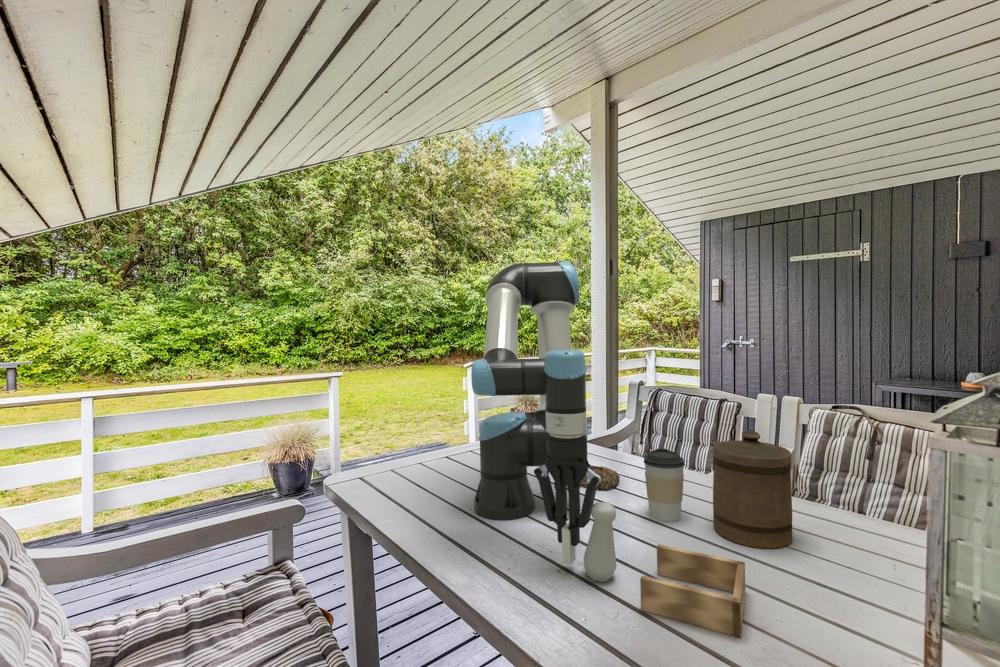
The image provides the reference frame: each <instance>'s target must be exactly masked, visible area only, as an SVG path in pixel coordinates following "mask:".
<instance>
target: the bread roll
mask: <svg viewBox="0 0 1000 667" xmlns="http://www.w3.org/2000/svg"><path fill="white" fill-rule="evenodd" d="M590 469H591V470H592V471H593V472H595V473H596V474H601V475H602V480H601V481H600V483H599V484H598V486H597V489H596V492H606V491H610V490H612V489H614V488H616V487H617V486H618V485H619V482H620V479H621V478H620V474H618V472H617V470H613V469H611V468H609V467H606V466H597V465H590ZM587 485H588V483H587V475H586V476H585V477H584V478H583V480H582V481H581V482H580V488H584V489H586V488H587Z"/></svg>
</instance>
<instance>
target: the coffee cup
mask: <svg viewBox="0 0 1000 667" xmlns="http://www.w3.org/2000/svg"><path fill="white" fill-rule="evenodd" d="M643 464H644V468H645V471H644V475H645V476H644V477H645V485H646V488H645V489H646V498H647V501H648V502H647V503H648V511H649V513H648V514H649V516H650V517H651V518H652V519H654V520H656V521H661V522H666V523H667V522H668V523H669V522H670V523H671V522H672V523H673V522H677V521H679V520H680V519H681V517H682V516H681V514H682V501H683V494H684V477H685V476H684V466H685V460H684V458H683V457H681V456H680V454H679V453H678V452H675V451H671V450H669V449H667V448H656V449H654V450H651V451H649V452H648V454H647V455H645V456H644V457H643Z"/></svg>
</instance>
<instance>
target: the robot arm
mask: <svg viewBox="0 0 1000 667" xmlns="http://www.w3.org/2000/svg"><path fill="white" fill-rule="evenodd" d="M485 290H486V291H485V296H484V298H485V299H484V301H485V305H486V306H487V318H486V328H485V337H484V347H483V348H484V349H483V358H481V359H475V360H473V362H472V364H471V378H470V379H471V389H472V391H473V393H474V394H475V395H477V396H488V397H503V396H507V397H508V396H539V405H538V407H536V409H535V410H534V411H533V413H534V414H533V416H534V417H533V418H527V414H526V413H525V412H521V411H517V412H516V411H509V412H502V413H498V414H493V415H490V416H488V417H485V418H483V420H482V421H481V422H480V425H479V437H478V441H479V451H480V453H479V454H480V455H479V458H480V461H479V462H480V463H479V464H480V477H479V478H480V479H479V482H478V485H477V489H476V492H475V496H474V500H473V505H474V507H473V508H474V511H475V513H476V514H478V515H479V516H481V517H484V518H488V519H493V520H514V519H520V518H523V517H527V516H529V515H530V514H532V513H533V512H534V511H535V510H536V509H535V507H536V505H535V504H536V501H535V500H536V499H535V496H534V493H533V490H532V487H531V483H530V481H529V478H528V468H529V467H534V469H533V474H534V476H535V478H536V479H537V481H538V484H539V488H540V491H541V497H542V501H543V506H544V509H545V515H546V517H547V518H546V519H547V520H548V521H549V522H553V523H555V524H556V526H557V528H556V530H557V542H558V543H560V544H561V549H562V550H561V554H562V555H561V556H562V558H561V559H562V564H563V565H568V566H571V565H572V564H573V563H574V561H575V560H576V557H577V556H576V547H577V546H578V545H579V543H580V541H581V540H580V539H581V534H580V533H581V532H580V530H581V529H584V528H585V527H586V526H588V524H589V522H590V521H591V517H592V515H591V508H592V506H593V505H594V504H595V503H594V502H595V499H596V498H595V497H596V494H597V490H596V489H597V486H598V484H599V483H600V481H601V480H602V475H601V474H596V473H595V472H593V471H592V470H591V469H590V466H591V465H590V463H589V460H588V434H589V432H588V430H589V429H588V427H589V426H588V418H587V403H586V402H587V401H586V400H587V397H586V392H587V391H586V390H587V389H586V388H587V387H586V386H587V385H586V379H587V378H586V377H587V376H586V374H587V373H586V372H587V366H586V357H585V353H584V352H583V351H581V350H578V349H577V350H575V349H572V344H571V342H572V341H571V324H570V322H571V321H570V315H571V314H572V313H573V312H574V311H575V306H576V305H577V304H579V303H580V298H581V294H580V283H579V278H578V273H577V270H576V267H575V266H574V264H572V263H571V262H568V261H566V262H565V261H552V262H551V261H550V262H547V261H546V262H518V263H513V264H511V265H508V266H506V267H504V268H503V269H501V270H500V271H499V272H498V273H496V274H495V275H494V276H493V277H492V279H491V281H490V282H489V284H488V285H487V287H486V289H485ZM521 306H530V307H531V308H530V309H531V313H532V314H533V315H535V317H536V319H537V345H538V347H537V349H538V350H537V351H538V354H537V355H538V358H519V354H518V353H519V349H518V348H519V343H518V342H519V336H518V335H519V330H518V329H519V308H520V307H521ZM586 475H587V483H588V485H587V488H585V492H584V496H583V501H582V505H581V498H580V497H581V494H580V489H581V487H580V482H581V481H582V480H583V478H584V477H585V476H586ZM550 476H551V477H550ZM551 478H552V479H551ZM551 480H553V482H554V484H553V485H554V486H552V482H551ZM553 487H554V489H553ZM554 490H555V493H554ZM568 514H569V515H568ZM568 521H569V522H568ZM580 528H581V529H580Z"/></svg>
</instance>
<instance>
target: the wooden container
mask: <svg viewBox="0 0 1000 667" xmlns="http://www.w3.org/2000/svg"><path fill="white" fill-rule="evenodd" d="M741 437H742V440H724V441H719V442H716V443H714V445H713V480H712V482H713V484H712V506H713V507H712V509H713V510H712V511H713V517H712V518H713V519H712V520H713V529H714V531H715V532H716V533H717V534H719V536H721V537H723V538H725V539H727V540H728V541H731V542H733V543H735V544H738V545H739V544H740V545H742V546H745V547H751V548H758V549H781V548H784V547H787V546H789V545H790V544H792V542H793V499H792V478H791V469H792V453H791V451H790V450H789V449H787V448H786V447H783V446H780V445H776V444H773V443H767V442H763V441H762V442H761V441H759V439H761V435H760V433H759V432H756V430H755V429H746V430H744V431H742V432H741Z"/></svg>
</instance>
